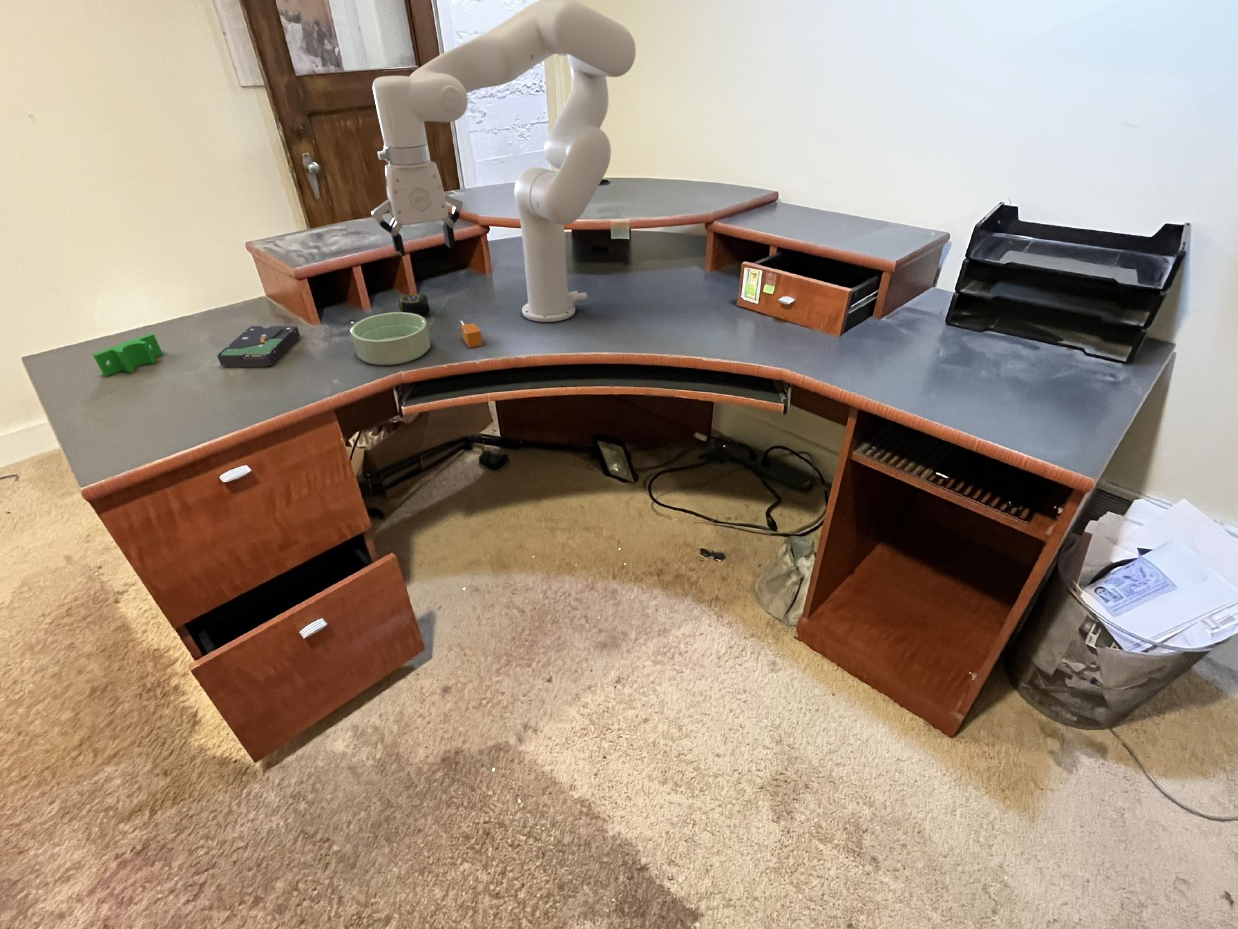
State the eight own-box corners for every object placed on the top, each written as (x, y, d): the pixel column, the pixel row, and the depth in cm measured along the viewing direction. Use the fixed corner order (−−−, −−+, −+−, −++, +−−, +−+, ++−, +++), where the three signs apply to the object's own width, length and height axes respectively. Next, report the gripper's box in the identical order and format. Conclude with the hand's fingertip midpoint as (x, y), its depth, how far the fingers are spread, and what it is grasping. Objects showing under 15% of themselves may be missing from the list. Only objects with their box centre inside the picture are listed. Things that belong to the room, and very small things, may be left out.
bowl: (422, 331, 139) (417, 307, 136) (438, 357, 128) (433, 332, 125) (352, 343, 134) (346, 319, 131) (362, 372, 123) (356, 347, 120)
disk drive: (254, 337, 137) (220, 367, 125) (250, 325, 135) (215, 354, 123) (301, 337, 137) (272, 366, 125) (297, 325, 135) (268, 354, 123)
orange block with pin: (482, 345, 133) (480, 331, 132) (469, 347, 132) (466, 333, 130) (468, 326, 142) (466, 312, 140) (455, 328, 141) (453, 315, 139)
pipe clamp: (115, 379, 121) (103, 358, 118) (103, 375, 122) (92, 354, 119) (171, 356, 129) (161, 336, 126) (160, 353, 130) (150, 332, 127)
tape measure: (431, 317, 146) (428, 301, 144) (401, 320, 144) (397, 305, 142) (429, 306, 151) (426, 291, 149) (400, 309, 150) (397, 294, 147)
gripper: (363, 164, 107) (386, 263, 117) (460, 154, 114) (474, 248, 124) (355, 157, 112) (377, 252, 122) (448, 148, 119) (462, 239, 129)
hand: (426, 250), depth 123 cm, fingers open, 9 cm apart
